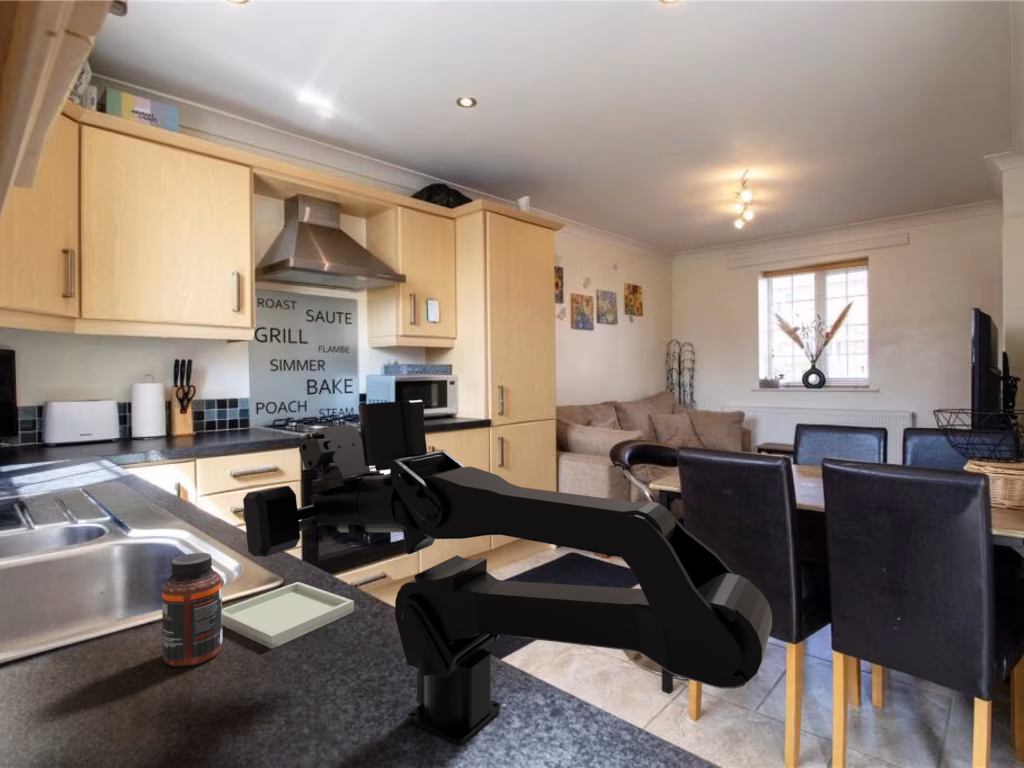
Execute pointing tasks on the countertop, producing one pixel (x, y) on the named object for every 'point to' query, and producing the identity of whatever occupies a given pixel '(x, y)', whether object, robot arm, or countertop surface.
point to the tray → (285, 613)
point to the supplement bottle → (191, 611)
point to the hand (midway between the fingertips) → (280, 507)
